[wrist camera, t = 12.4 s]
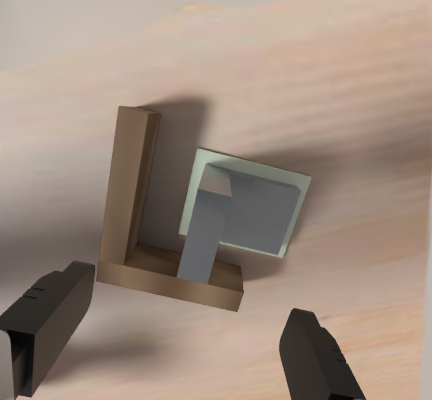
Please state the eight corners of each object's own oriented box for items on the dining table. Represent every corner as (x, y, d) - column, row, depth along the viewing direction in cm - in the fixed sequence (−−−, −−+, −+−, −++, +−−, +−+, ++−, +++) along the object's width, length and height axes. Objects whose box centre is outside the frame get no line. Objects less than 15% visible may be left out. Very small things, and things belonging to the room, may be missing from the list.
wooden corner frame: (114, 256, 27) (96, 281, 23) (136, 107, 22) (118, 106, 18) (235, 283, 27) (237, 312, 23) (279, 143, 23) (290, 149, 19)
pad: (178, 232, 26) (178, 233, 25) (197, 147, 23) (197, 148, 23) (282, 256, 26) (282, 258, 26) (311, 176, 24) (312, 177, 23)
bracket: (190, 226, 25) (176, 277, 17) (205, 163, 23) (197, 188, 16) (274, 247, 26) (297, 304, 18) (296, 186, 24) (331, 221, 16)
